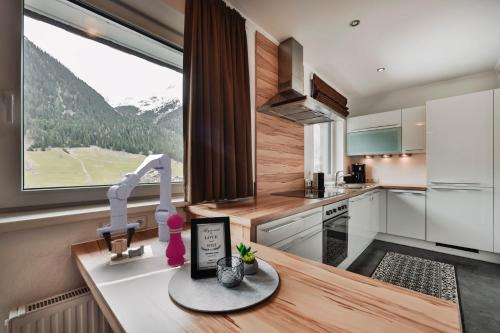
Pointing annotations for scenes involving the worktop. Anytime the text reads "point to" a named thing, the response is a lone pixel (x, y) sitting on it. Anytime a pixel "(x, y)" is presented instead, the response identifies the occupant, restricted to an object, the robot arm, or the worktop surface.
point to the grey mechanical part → (136, 252)
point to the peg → (119, 257)
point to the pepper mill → (175, 241)
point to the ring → (118, 246)
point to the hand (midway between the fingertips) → (119, 249)
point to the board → (144, 255)
